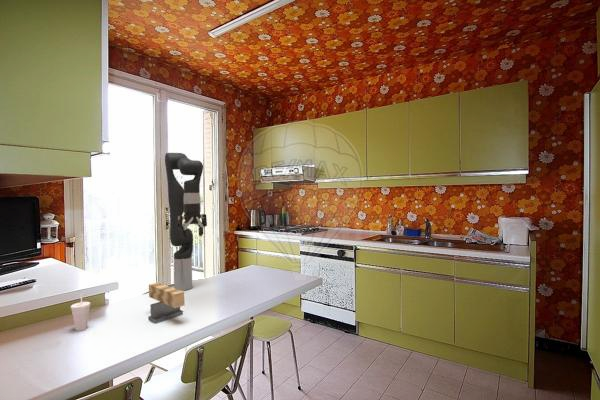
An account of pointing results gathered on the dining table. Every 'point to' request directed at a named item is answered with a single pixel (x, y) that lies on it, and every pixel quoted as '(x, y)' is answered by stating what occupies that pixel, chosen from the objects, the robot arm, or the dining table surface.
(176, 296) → the oak beam
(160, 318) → the ridge
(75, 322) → the smoothie
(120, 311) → the dining table surface
